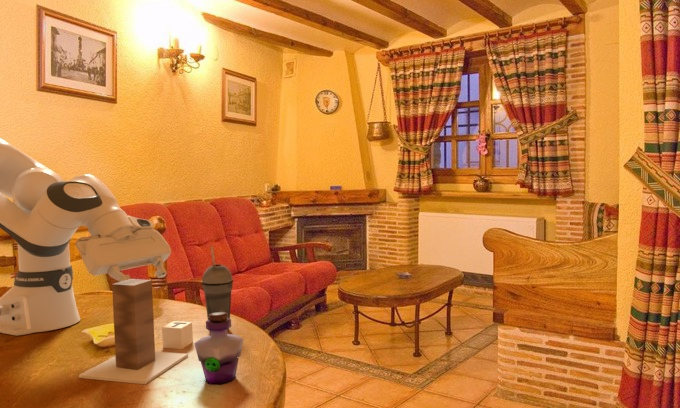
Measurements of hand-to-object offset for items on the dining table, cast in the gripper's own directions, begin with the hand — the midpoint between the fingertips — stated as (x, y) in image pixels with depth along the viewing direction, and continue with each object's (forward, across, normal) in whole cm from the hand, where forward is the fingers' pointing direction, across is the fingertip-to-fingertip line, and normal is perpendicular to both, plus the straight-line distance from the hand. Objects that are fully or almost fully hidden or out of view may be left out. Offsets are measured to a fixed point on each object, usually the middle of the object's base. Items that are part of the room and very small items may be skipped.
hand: (146, 280), depth 113 cm
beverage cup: (+16, +13, +4) cm, 21 cm away
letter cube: (+15, +2, +4) cm, 16 cm away
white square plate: (+17, -11, +3) cm, 20 cm away
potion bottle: (+30, -8, -11) cm, 33 cm away
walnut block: (+16, -11, +2) cm, 20 cm away
